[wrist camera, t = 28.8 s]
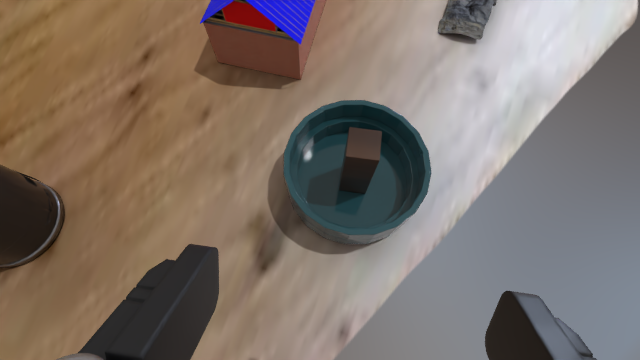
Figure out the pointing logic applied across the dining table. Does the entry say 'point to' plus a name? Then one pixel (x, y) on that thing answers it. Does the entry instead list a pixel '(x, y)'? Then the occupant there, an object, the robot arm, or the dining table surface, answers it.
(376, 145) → the brown rectangular block
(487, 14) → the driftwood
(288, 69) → the house
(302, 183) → the bowl
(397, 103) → the dining table surface
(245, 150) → the dining table surface
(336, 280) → the dining table surface
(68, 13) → the dining table surface
